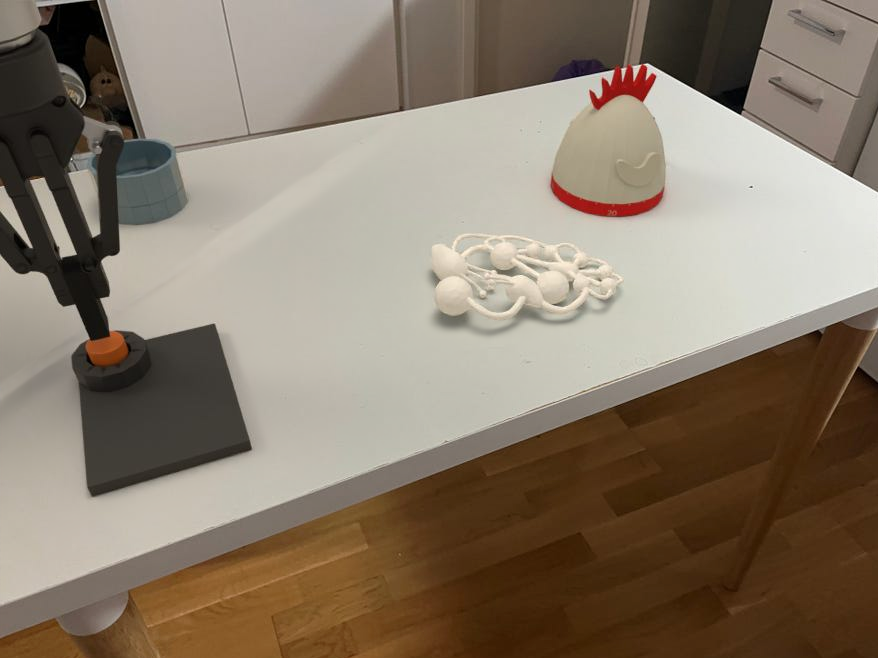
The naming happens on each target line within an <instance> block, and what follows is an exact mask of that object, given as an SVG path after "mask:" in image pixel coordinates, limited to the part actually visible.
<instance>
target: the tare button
mask: <svg viewBox="0 0 878 658" xmlns="http://www.w3.org/2000/svg"><path fill="white" fill-rule="evenodd" d="M109 331H110V337H107V338H103V339H99V340H94V341H91V340H90V338H88V339H89V340H88V339H87V340H88V341H87V340H86V341H87V343H86V350H87V352H88V354H89V357H90V359H91V361H92V363H93V364H94V365H96V366H99V367H107V366H111V365H115V364H118V363H119V362H121V361H122V360H124V359H126V357H127V356H128V348H127V345H126V343H125V340H124V338H123V336H122V335H121V334H120V333H118V332H115V331H114V330H109Z"/></svg>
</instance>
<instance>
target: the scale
mask: <svg viewBox="0 0 878 658" xmlns="http://www.w3.org/2000/svg"><path fill="white" fill-rule="evenodd" d="M113 331H115V332H118V333H120V334H121V335H122V336H123V338H124V340H125V343H126V345H127V348H128V356H127V357H126V359H124V360H122V361H121V362H119V363H118V364H115V365H111V366H107V367H99V366H96V365H94V364H93V363H92V361H91V359H90V357H89V354H88V352H87V350H86V343H87V341H88V340H89V339H90V338H88V339H86V340H85V341H83V342H81V343H80V344H79V345H78V346H77V348H76V349H75V350H74V351H73V353H72V355H71V358H70V359H71V368H72V370H73V372H74V375H75V377H76V380H77V381H78V393H79V400H80V401H79V404H80V405H79V406H80V415H81V416H80V418H81V428H82V429H81V430H82V440H83V441H82V442H83V453H84V463H85V464H84V466H85V477H86V488H87V490H88V492H89V494H90V496H91V497H97V496H100V495H103V494H107V493H111V492H114V491H117V490H120V489H124V488H127V487H131V486H134V485H137V484H141V483H144V482H147V481H151V480H155V479H159V478H160V477H165V476H168V475H171V474H174V473H175V474H176V473H178V472H182V471H185V470H189V469H192V468H195V467H200V466H201V465H205V464H208V463H213V462H216V461H218V460H222V459H226V458H229V457H232V456H236V455H239V454H242V453H246V452H249V451H252V450H253V447H252V444H251V443H252V442H251V440H250V436H249V433H248V430H247V427H246V423H245V420H244V416H243V413H242V410H241V406H240V403H239V399H238V396H237V393H236V389H235V387H234V382H233V379H232V376H231V373H230V369H229V366H228V363H227V360H226V356H225V352H224V349H223V346H222V341H221V339H220V336H219V333H218V329H217V326H216V323H210V324H206V325H202V326H198V327H193V328H190V329H184V330H181V331H177V332H172V333H168V334H163V335H160V336H155V337H152V338H147V339H145V338H143V337H142V336H140V335H139V334H137V333H136V332H134V331H128V330H113Z"/></svg>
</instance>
